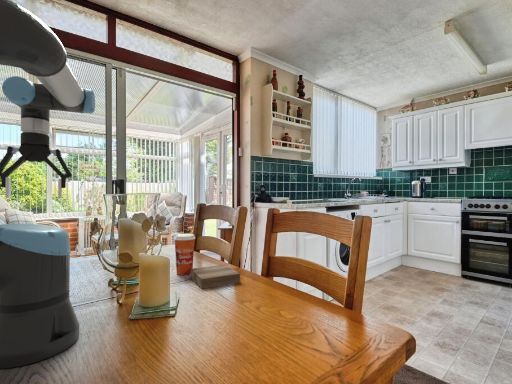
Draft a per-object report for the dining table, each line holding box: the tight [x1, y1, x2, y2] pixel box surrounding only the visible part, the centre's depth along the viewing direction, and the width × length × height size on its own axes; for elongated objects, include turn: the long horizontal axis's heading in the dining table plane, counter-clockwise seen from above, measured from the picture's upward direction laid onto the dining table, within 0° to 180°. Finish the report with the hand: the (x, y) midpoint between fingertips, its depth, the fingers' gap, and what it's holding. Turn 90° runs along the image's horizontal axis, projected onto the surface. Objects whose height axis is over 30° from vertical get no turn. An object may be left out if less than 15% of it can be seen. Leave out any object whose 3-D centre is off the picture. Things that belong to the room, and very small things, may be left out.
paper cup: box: [173, 233, 196, 276], centre depth 105 cm, size 8×8×14 cm
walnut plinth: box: [190, 264, 241, 289], centre depth 96 cm, size 13×13×3 cm
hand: (35, 198), depth 93 cm, fingers open, 13 cm apart
